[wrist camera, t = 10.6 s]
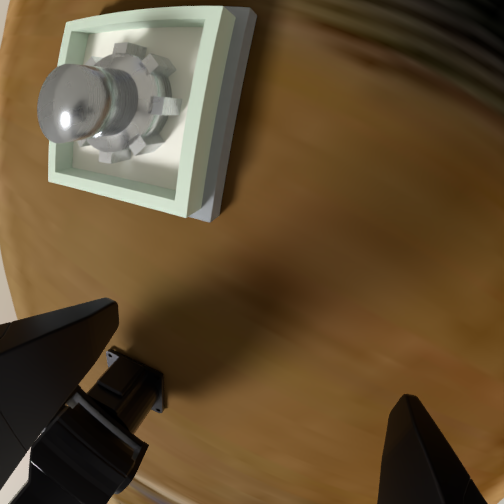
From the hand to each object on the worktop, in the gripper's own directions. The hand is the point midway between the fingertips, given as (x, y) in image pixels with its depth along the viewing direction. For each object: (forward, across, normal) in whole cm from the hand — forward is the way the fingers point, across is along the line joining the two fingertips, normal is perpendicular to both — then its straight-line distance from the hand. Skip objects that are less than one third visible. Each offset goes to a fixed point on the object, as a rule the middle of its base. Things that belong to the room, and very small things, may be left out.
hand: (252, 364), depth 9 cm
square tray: (+12, +12, -6) cm, 18 cm away
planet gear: (+10, +12, -6) cm, 17 cm away
